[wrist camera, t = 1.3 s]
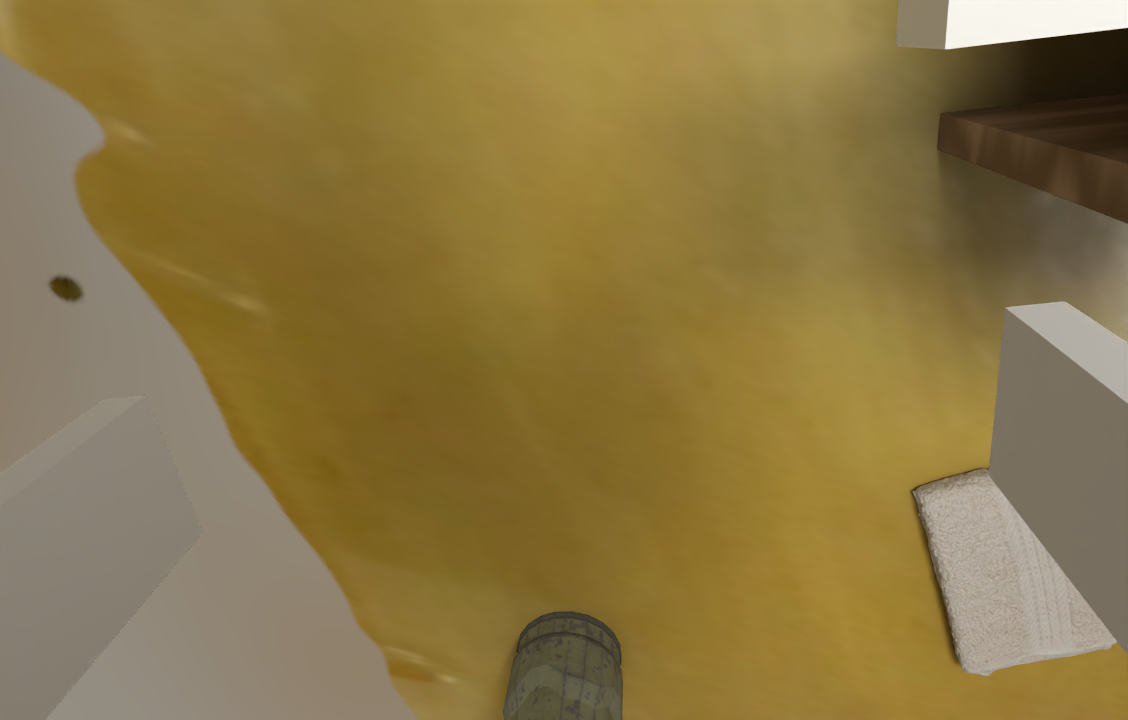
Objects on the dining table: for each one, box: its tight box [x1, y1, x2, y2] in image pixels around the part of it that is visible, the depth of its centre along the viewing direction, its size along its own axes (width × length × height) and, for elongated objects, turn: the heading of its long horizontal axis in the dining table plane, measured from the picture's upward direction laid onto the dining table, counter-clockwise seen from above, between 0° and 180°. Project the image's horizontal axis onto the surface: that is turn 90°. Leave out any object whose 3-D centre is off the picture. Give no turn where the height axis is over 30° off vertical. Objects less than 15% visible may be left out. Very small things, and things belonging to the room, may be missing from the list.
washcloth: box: [912, 468, 1117, 676], centre depth 53 cm, size 12×18×3 cm, turn 23°
